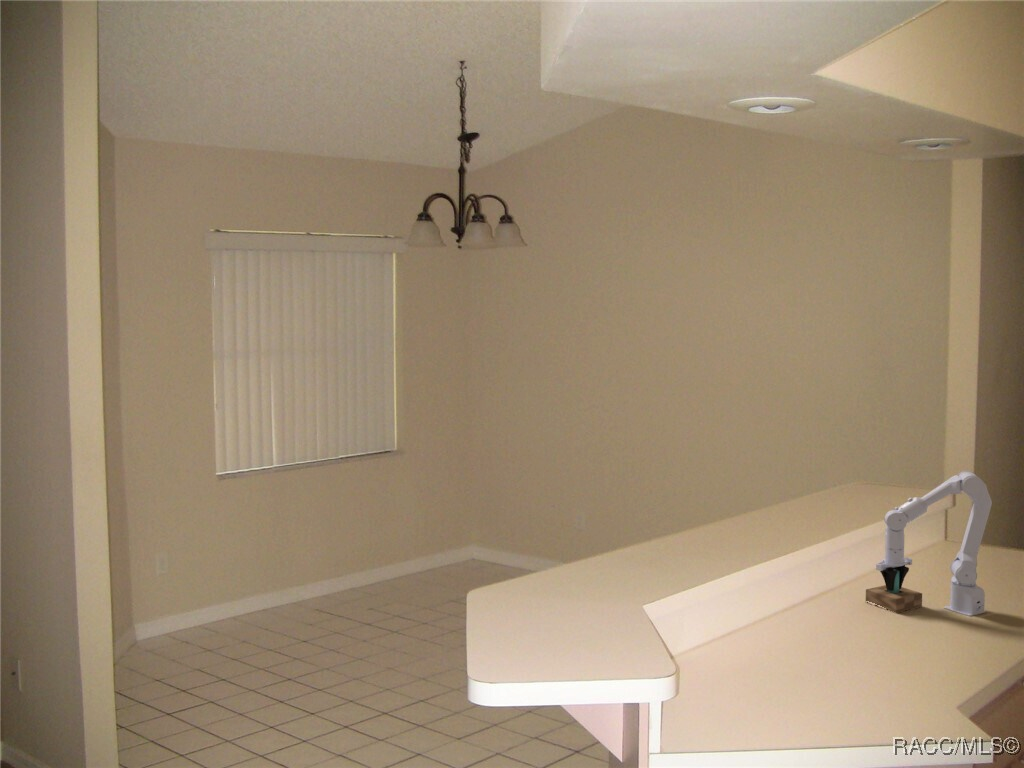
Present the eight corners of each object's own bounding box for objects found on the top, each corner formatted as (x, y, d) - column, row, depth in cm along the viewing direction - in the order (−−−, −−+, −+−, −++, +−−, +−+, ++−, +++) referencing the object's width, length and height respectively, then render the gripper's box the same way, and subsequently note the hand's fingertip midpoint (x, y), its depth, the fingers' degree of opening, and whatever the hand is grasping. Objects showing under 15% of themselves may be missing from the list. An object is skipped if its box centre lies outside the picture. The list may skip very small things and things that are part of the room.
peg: (901, 598, 303) (901, 571, 303) (894, 600, 302) (894, 572, 301) (893, 596, 306) (893, 568, 305) (886, 597, 305) (886, 570, 304)
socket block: (921, 607, 302) (922, 593, 301) (896, 613, 296) (896, 599, 296) (891, 597, 312) (891, 583, 312) (865, 602, 307) (865, 589, 306)
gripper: (899, 542, 310) (899, 582, 311) (868, 548, 303) (868, 589, 304) (917, 547, 303) (917, 588, 304) (886, 553, 297) (885, 595, 298)
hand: (893, 589), depth 304 cm, fingers closed on peg, 3 cm apart
